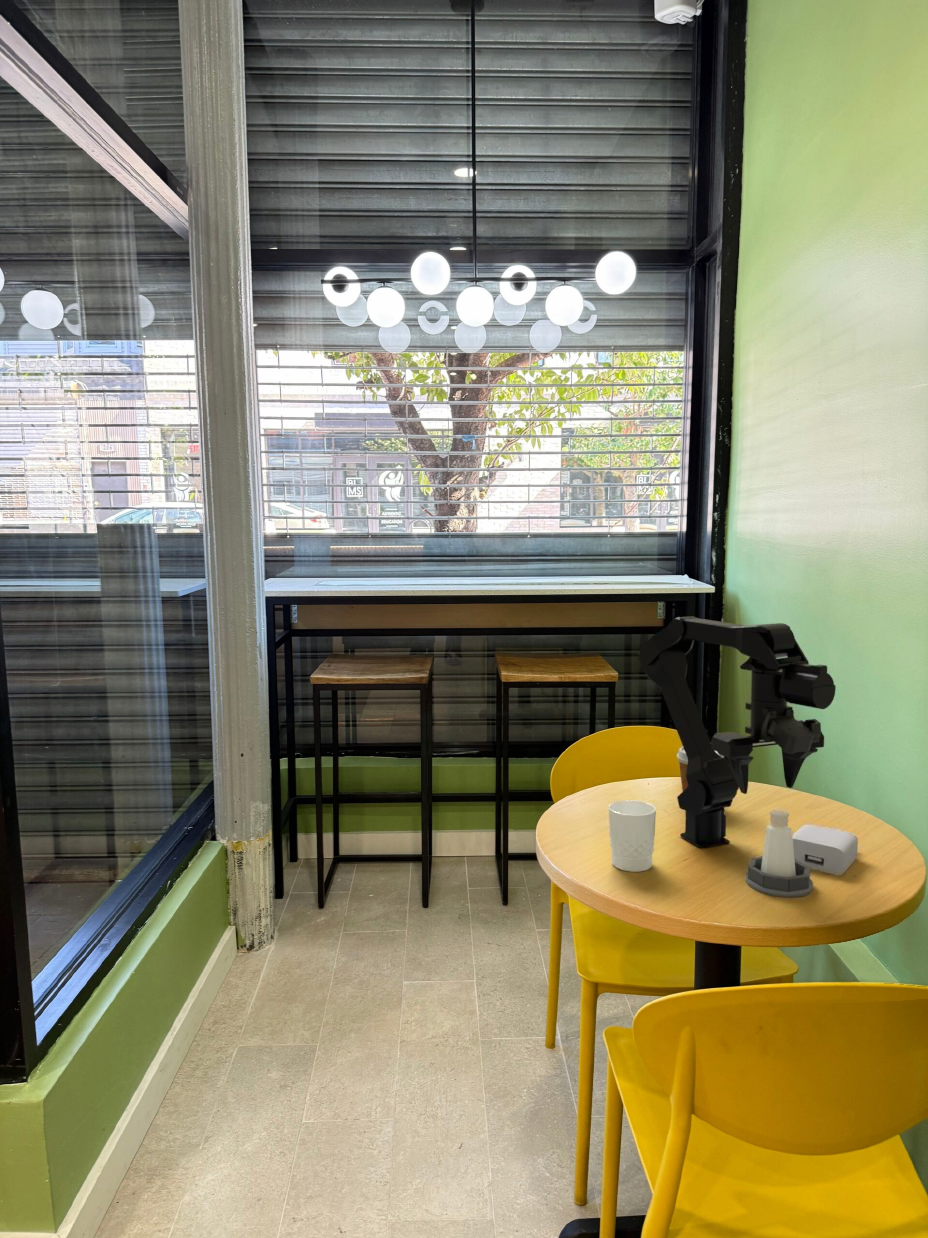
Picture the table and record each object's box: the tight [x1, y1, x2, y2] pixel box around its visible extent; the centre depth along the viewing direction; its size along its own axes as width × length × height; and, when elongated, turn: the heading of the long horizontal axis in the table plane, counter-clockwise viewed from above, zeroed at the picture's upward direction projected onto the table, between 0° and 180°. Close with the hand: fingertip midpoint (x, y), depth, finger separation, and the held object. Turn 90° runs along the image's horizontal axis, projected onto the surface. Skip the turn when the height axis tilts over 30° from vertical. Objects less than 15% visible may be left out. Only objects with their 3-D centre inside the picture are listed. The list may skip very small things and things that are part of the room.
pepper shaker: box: [761, 809, 796, 877], centre depth 128 cm, size 5×5×11 cm
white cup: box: [608, 799, 657, 873], centre depth 136 cm, size 8×8×10 cm
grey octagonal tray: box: [745, 855, 814, 899], centre depth 128 cm, size 10×10×3 cm
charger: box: [792, 824, 859, 876], centre depth 139 cm, size 5×9×15 cm
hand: (766, 790), depth 135 cm, fingers open, 9 cm apart
